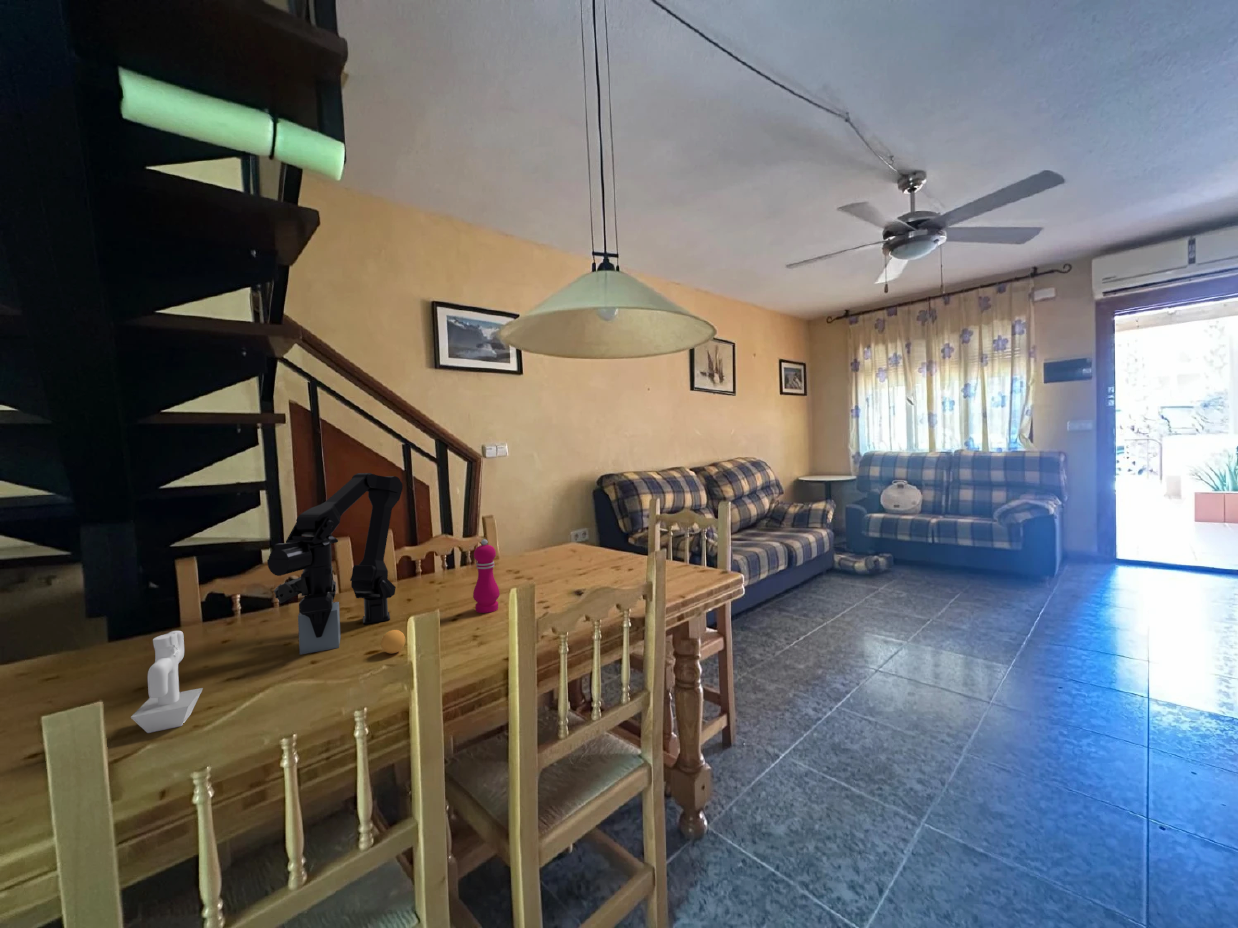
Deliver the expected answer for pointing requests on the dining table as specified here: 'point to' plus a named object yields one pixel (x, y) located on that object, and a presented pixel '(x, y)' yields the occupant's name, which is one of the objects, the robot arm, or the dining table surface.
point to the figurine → (166, 688)
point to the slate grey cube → (328, 639)
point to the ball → (393, 641)
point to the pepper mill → (485, 579)
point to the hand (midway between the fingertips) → (320, 630)
